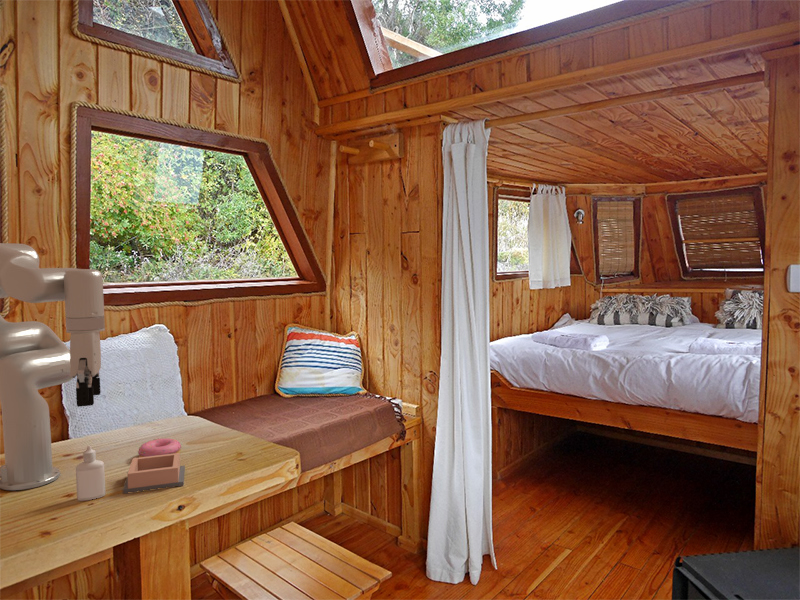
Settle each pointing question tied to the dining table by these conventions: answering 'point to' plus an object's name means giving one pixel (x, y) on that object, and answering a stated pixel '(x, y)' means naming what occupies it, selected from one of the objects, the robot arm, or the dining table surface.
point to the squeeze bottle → (90, 477)
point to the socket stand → (154, 473)
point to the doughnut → (159, 447)
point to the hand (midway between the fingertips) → (89, 400)
